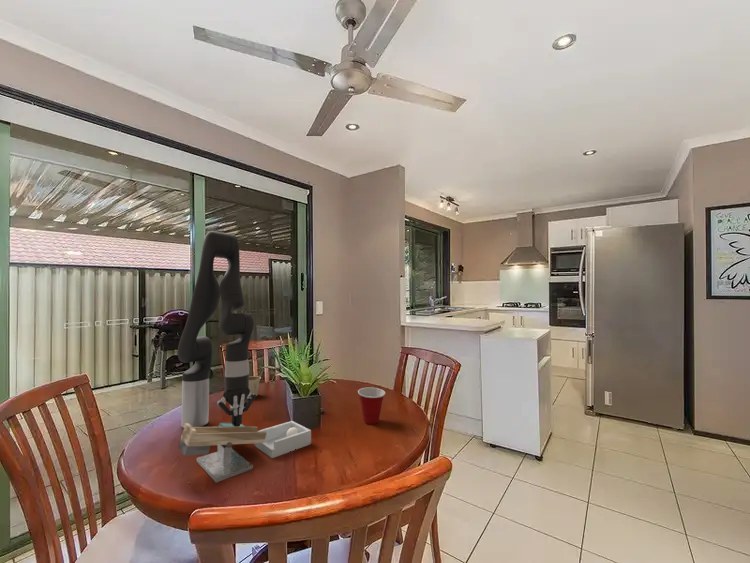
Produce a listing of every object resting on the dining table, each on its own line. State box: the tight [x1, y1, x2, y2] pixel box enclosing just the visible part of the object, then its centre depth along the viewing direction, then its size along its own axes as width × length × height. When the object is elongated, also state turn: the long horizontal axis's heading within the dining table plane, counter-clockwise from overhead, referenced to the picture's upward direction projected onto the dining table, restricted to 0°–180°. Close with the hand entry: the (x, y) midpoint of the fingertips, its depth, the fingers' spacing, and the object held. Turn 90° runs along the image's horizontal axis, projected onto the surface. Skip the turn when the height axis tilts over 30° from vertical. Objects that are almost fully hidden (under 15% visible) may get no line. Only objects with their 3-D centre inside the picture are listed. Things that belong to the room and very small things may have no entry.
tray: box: [253, 420, 312, 459], centre depth 112 cm, size 12×14×4 cm
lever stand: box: [196, 445, 253, 484], centre depth 99 cm, size 16×10×6 cm, turn 44°
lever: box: [178, 422, 267, 457], centre depth 103 cm, size 20×22×6 cm
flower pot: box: [249, 375, 262, 397], centre depth 166 cm, size 9×9×9 cm
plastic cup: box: [357, 386, 386, 425], centre depth 132 cm, size 11×11×12 cm
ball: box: [286, 427, 298, 437], centre depth 114 cm, size 4×4×4 cm
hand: (236, 425), depth 112 cm, fingers closed
